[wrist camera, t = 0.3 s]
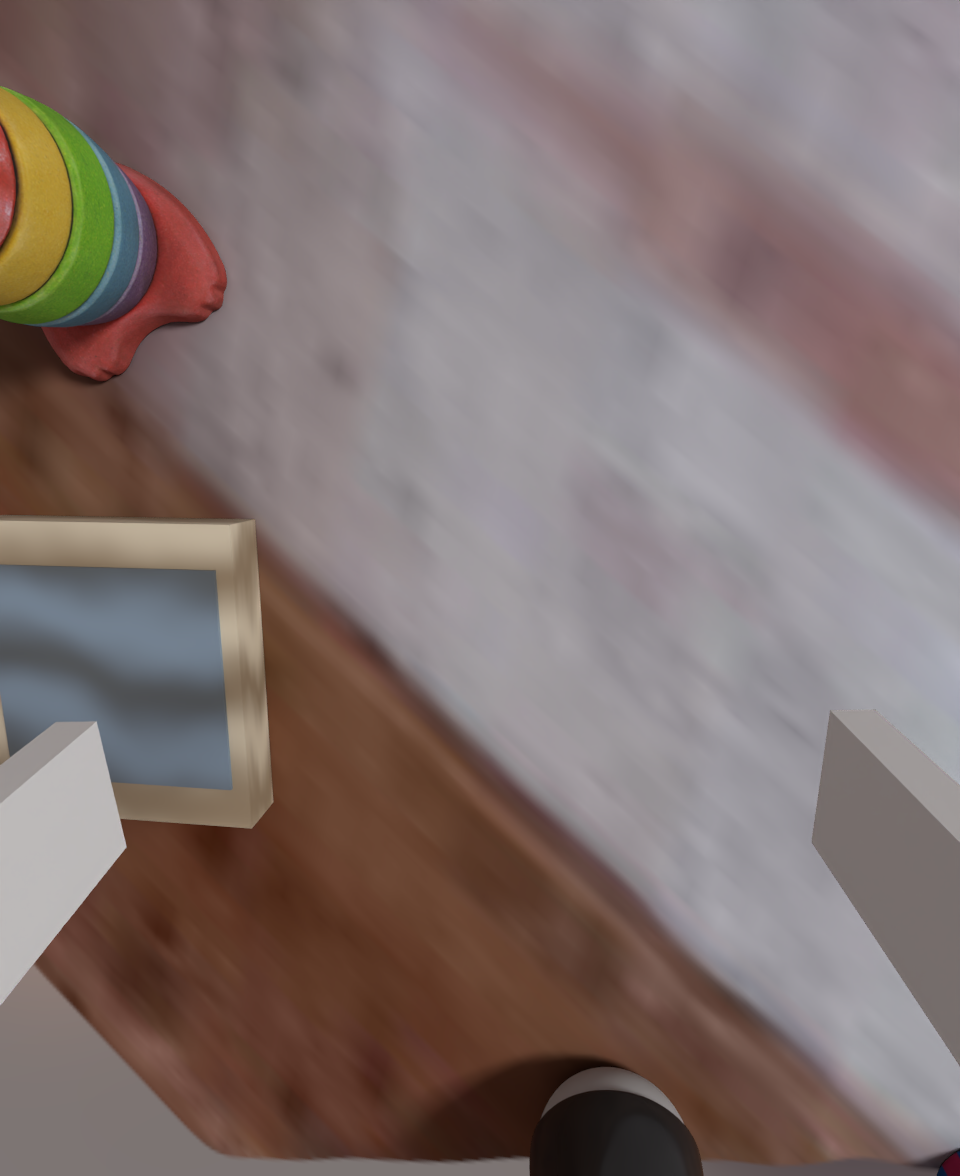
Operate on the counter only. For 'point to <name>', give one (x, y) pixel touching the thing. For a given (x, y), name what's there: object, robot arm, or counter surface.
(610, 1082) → the pump dispenser
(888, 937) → the robot arm
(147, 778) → the plinth
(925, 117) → the counter surface
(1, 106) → the stacking bear
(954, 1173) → the mug
